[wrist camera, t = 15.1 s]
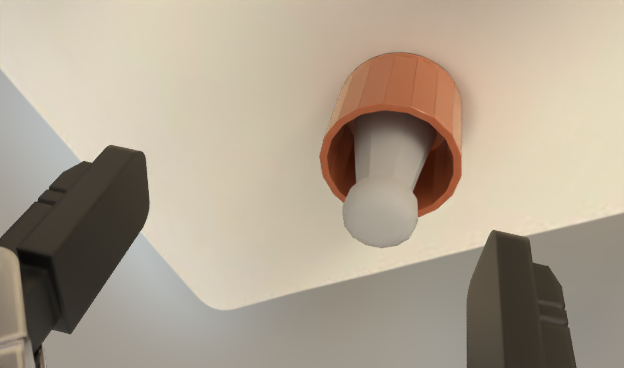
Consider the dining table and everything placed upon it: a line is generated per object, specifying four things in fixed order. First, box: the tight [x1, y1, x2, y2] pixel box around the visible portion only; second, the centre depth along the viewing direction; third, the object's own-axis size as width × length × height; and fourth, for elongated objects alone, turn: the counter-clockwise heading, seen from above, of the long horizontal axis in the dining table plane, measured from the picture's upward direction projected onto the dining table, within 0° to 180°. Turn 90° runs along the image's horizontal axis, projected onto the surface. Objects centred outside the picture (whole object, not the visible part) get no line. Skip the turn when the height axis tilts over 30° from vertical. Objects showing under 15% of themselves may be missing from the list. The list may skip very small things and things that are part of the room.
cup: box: [320, 53, 462, 217], centre depth 40 cm, size 9×9×8 cm
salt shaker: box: [343, 110, 436, 248], centre depth 37 cm, size 6×6×13 cm
